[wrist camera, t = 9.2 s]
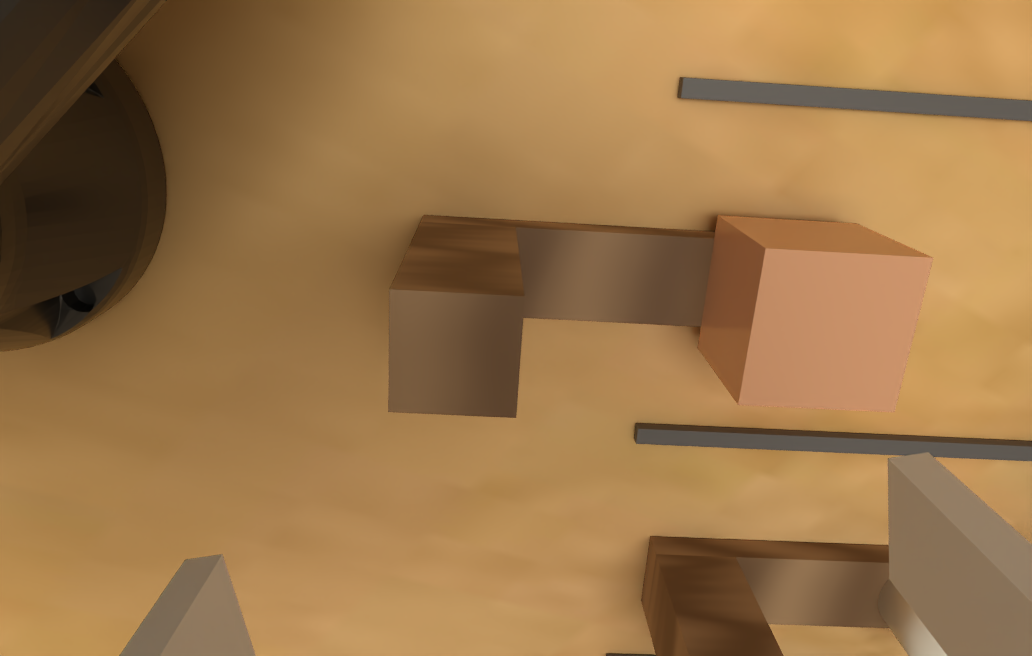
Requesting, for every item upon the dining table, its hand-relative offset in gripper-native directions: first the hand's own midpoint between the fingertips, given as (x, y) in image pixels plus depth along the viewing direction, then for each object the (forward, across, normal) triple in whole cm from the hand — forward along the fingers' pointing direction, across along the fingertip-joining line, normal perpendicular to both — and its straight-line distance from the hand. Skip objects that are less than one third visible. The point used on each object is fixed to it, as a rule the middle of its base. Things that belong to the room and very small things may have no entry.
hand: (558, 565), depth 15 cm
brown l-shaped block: (+21, +5, 0) cm, 21 cm away
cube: (+19, +10, -1) cm, 22 cm away
